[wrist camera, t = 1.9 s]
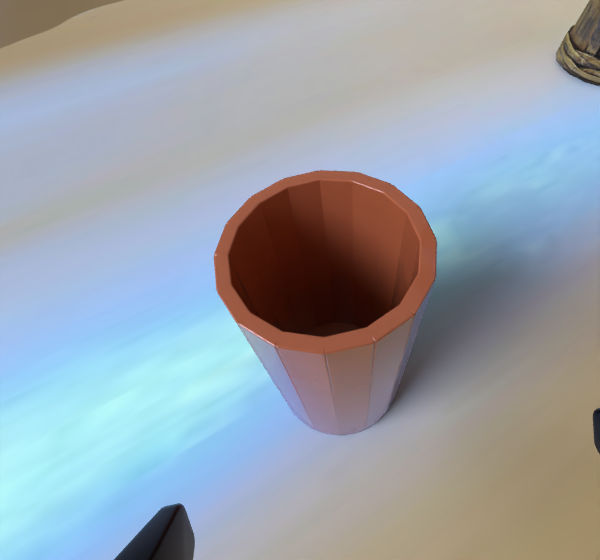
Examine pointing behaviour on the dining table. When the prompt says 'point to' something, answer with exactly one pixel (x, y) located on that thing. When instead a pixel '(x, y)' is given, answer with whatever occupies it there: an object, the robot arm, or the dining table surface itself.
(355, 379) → the pot
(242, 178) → the dining table surface
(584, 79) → the wooden mug
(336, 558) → the dining table surface
